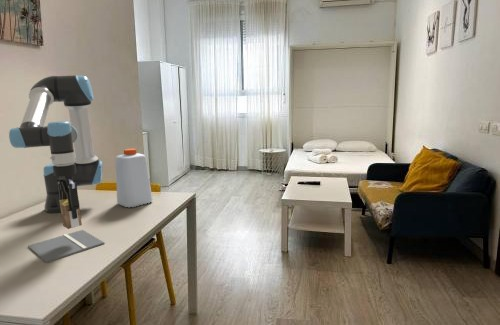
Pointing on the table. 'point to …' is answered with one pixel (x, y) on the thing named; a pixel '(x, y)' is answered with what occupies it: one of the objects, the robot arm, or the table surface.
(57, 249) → the mat
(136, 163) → the plastic bottle
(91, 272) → the table surface
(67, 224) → the block
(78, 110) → the robot arm
